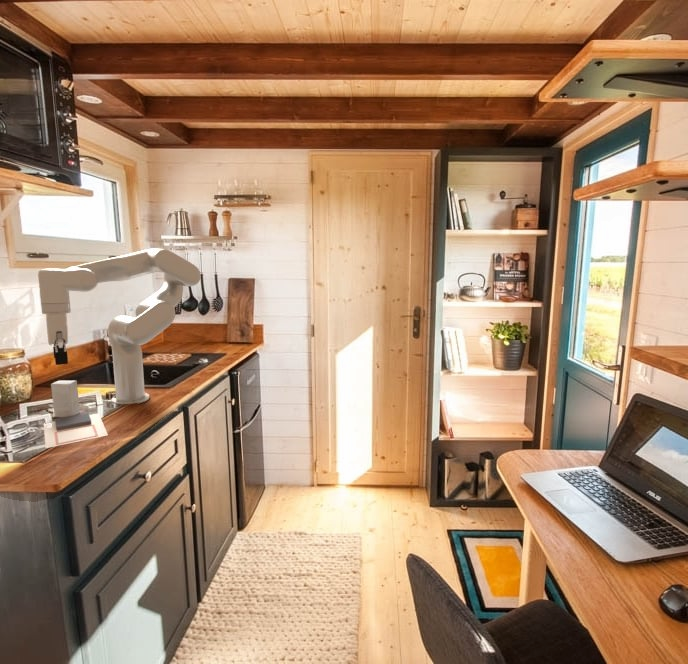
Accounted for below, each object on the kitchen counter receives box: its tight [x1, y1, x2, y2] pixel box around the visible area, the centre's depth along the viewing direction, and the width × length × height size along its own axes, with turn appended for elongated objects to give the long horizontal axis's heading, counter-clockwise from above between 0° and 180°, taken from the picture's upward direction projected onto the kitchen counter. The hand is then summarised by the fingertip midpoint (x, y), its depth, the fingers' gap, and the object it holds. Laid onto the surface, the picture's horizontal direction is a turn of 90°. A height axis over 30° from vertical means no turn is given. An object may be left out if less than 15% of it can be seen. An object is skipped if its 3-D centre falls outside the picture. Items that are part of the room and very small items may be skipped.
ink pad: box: [54, 412, 91, 431], centre depth 130 cm, size 8×9×1 cm
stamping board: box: [43, 413, 109, 449], centre depth 126 cm, size 21×15×1 cm
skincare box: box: [50, 380, 81, 418], centre depth 136 cm, size 6×4×12 cm
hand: (61, 361), depth 133 cm, fingers open, 9 cm apart
